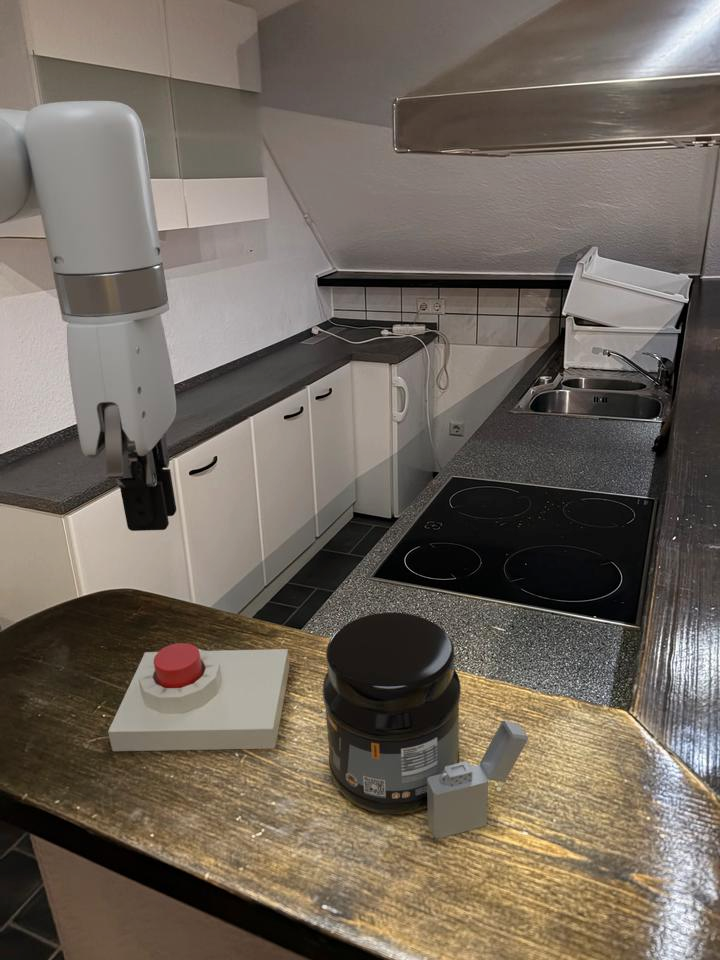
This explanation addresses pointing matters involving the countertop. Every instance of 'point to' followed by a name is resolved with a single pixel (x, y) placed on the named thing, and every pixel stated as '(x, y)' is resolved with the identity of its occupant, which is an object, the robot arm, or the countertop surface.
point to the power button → (178, 665)
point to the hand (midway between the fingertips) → (152, 520)
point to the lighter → (472, 784)
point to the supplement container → (390, 710)
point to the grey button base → (205, 705)
